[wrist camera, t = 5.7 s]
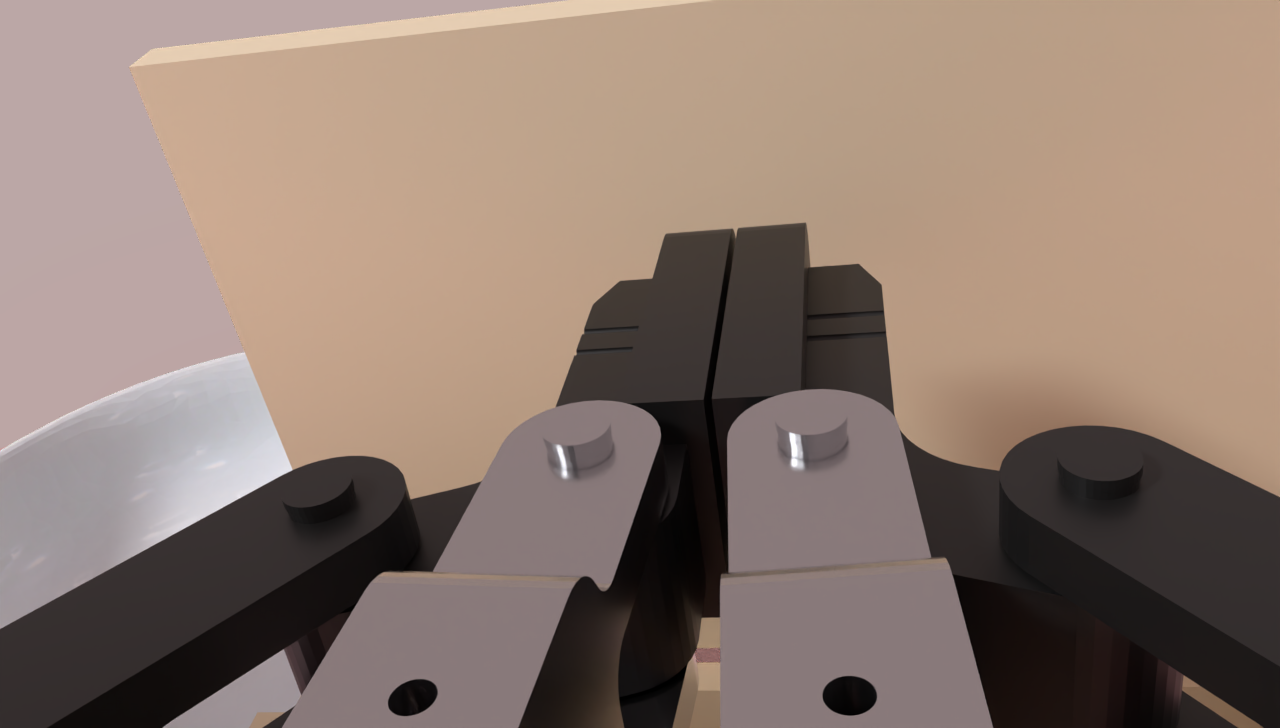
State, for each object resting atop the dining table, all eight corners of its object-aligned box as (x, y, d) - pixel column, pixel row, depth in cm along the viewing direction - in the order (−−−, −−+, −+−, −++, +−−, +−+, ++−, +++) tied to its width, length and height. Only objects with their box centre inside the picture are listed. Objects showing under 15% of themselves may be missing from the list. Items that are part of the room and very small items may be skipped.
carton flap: (1456, -84, 11) (1429, -101, 12) (128, 66, 14) (152, 49, 14) (1293, 639, 17) (1279, 608, 17) (366, 652, 19) (377, 625, 20)
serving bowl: (457, 425, 50) (420, 278, 47) (719, 728, 33) (690, 533, 30) (-78, 633, 42) (-168, 476, 39) (-87, 1160, 26) (-245, 963, 22)
